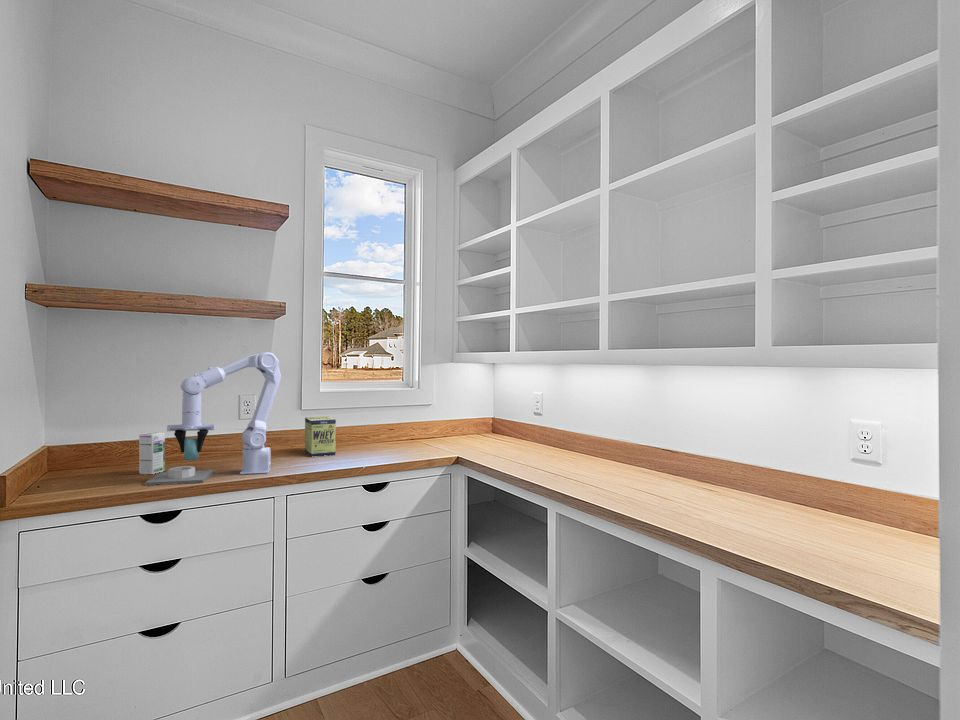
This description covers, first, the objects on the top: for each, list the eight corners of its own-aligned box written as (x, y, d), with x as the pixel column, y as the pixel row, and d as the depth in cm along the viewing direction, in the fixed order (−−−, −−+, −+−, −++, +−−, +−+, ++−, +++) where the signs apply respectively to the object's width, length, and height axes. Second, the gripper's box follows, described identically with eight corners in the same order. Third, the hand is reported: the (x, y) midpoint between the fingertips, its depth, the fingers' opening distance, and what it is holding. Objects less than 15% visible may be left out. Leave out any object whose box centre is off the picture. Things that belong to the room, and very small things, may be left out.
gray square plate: (214, 472, 187) (214, 463, 187) (202, 482, 171) (202, 472, 171) (161, 475, 182) (161, 465, 182) (144, 485, 167) (144, 474, 167)
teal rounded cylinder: (199, 457, 178) (200, 437, 178) (197, 459, 174) (197, 439, 174) (185, 458, 177) (185, 437, 177) (182, 460, 173) (182, 439, 173)
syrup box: (152, 474, 182) (152, 434, 182) (138, 474, 184) (138, 433, 184) (165, 471, 188) (165, 432, 188) (151, 470, 189) (152, 431, 189)
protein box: (311, 457, 217) (311, 420, 217) (304, 451, 231) (304, 417, 231) (336, 455, 222) (336, 419, 222) (327, 449, 236) (328, 416, 236)
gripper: (164, 413, 170) (163, 454, 170) (212, 412, 174) (212, 453, 174) (170, 411, 177) (170, 451, 176) (217, 410, 180) (216, 449, 180)
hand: (191, 451), depth 175 cm, fingers closed on teal rounded cylinder, 4 cm apart
